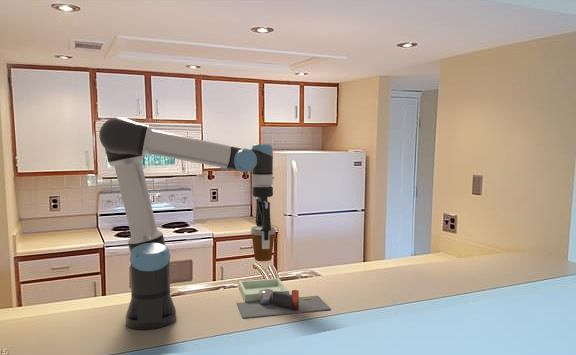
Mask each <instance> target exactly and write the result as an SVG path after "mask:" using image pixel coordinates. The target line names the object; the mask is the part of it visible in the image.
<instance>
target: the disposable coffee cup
mask: <svg viewBox="0 0 576 355" xmlns="http://www.w3.org/2000/svg"><path fill="white" fill-rule="evenodd" d="M261 229H262V226H257V225H255V226H252V227H251V229H250V230H249V232H250V233H251V238H252V239H251V241H252V250H253V255H254V256H253V258H254V260H255V261H256V262H269V261H272V258H273V257H272V256H273V249H274V242H275V234H276V231H277V230H276V228H275V226H272V225H271V230H270V249H262V231H261Z"/></svg>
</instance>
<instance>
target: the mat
mask: <svg viewBox="0 0 576 355" xmlns="http://www.w3.org/2000/svg"><path fill="white" fill-rule="evenodd" d="M303 298H311V299H308V300H303ZM236 306H237V308H238V310H239V313H240V314H239V315H241V318H242V319H253V318H254V319H255V318H264V317H273V316H274V317H275V316H284V315H293V314H304V313H313V312H314V313H315V312H316V313H317V312H322V311H323V312H324V311H325V312H326V311H331V310H332V308H331V307H330V306H328V304H327V303H326V301H324V300H323V299H322V298H321V297H320V296H319V295H310V296H300V297H299V309H298V310H292V309H290V308H286V307H282V306H278V305H274V304H272V305H260V304H259V301H252V302H244V301H243V302H236Z"/></svg>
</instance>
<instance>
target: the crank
mask: <svg viewBox="0 0 576 355" xmlns="http://www.w3.org/2000/svg"><path fill="white" fill-rule="evenodd" d="M299 291H300V290H298V289H292V290H291V294H290V293H289V294H286V293H282V292H277V291H274V292H273V304H274V305H278V306H282V307H286V308H290V309H292V310H298V309H299V296H300V293H299Z"/></svg>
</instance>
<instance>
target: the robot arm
mask: <svg viewBox="0 0 576 355" xmlns="http://www.w3.org/2000/svg"><path fill="white" fill-rule="evenodd" d="M99 141H100V143H101V145H102V147H103V148H104V151H105V155H106V157H107V158H106V159H107V162H108V164H109V165H111V166H112V167H113V168H114V170H115V175H116V179H117V182H118V186H119V191H120V195H121V199H122V203H123V204H122V205H123V208H124V211H125V215H126V219H127V224H128V229H129V232H130V238H129V239H128V240H127V244H128V249H129V254H130V256H129V262H130V283H131V285H130V289H131V290H130V291H131V294H130V296H131V297H130V302H129V305H128V307H127V311H126V315H125V325H126V326H127V327H128V328H131V329H134V330H144V331H145V330H153V329H154V330H155V329H160V328H162V327H166V326H168V325H171V324H172V323H173V322H175V321H176V320H177V309H176V307H175V304H174V301H173V298H172V295H171V265H170V264H171V263H170V262H171V261H170V260H171V253H170V248H169V246H167V245H166V241H165V237H164V233H163V232H162V231H161V230H159V229H158V227H157V223H156V220H155V215H154V210H153V206H152V202H151V198H150V194H149V189H148V184H147V180H146V177H145V172H144V168H143V164H142V162H143V160H144V158H145V155H148V154H149V155H152V156H153V155H154V156H159V157H165V158H169V159H175V160H181V161H185V162H190V163H196V164H202V165H206V166H211V167H217V168H220V169H221V170H222V171H228V172H230V171H235V172H241V173H249V172H251V171H252V174H251V175H252V178H251V179H252V183H251V185H253V187H252V197H253V198H254V197H255V198H256V199H255V202H256V204H255V224H256V225H255V226H262V229H261V231H262V249H270V230H271V226H272V224H271V223H272V222H271V203H270V202H269V201H268V197H269V198H271V197H273V195H274V187H273V186H272V185H273V183H274V181H273V180H275V176H274V172H273V171H274V167H273V165H274V152H273V146H272V145H271V144H269V143H265V144H263V143H259V144H257V143H256V144H255V143H254V144H252V146H251V147H252V148H251V149H248V148H242V147H241V148H240V147H237V146H231V145H226V144H222V143H217V142H213V141H207V140H205V139H204V140H203V139H199V138H193V137H189V136H184V135H179V134H175V133H169V132H165V131H161V130H155V129H153V128H152V127H150V126H149V125H146V124H143V123H139V122H136V121H133V120H131V119H128V118H125V117H120V116H117V117H112V118H110V119H107V120H105V122H103V124H102V125H101V127H100V130H99Z"/></svg>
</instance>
